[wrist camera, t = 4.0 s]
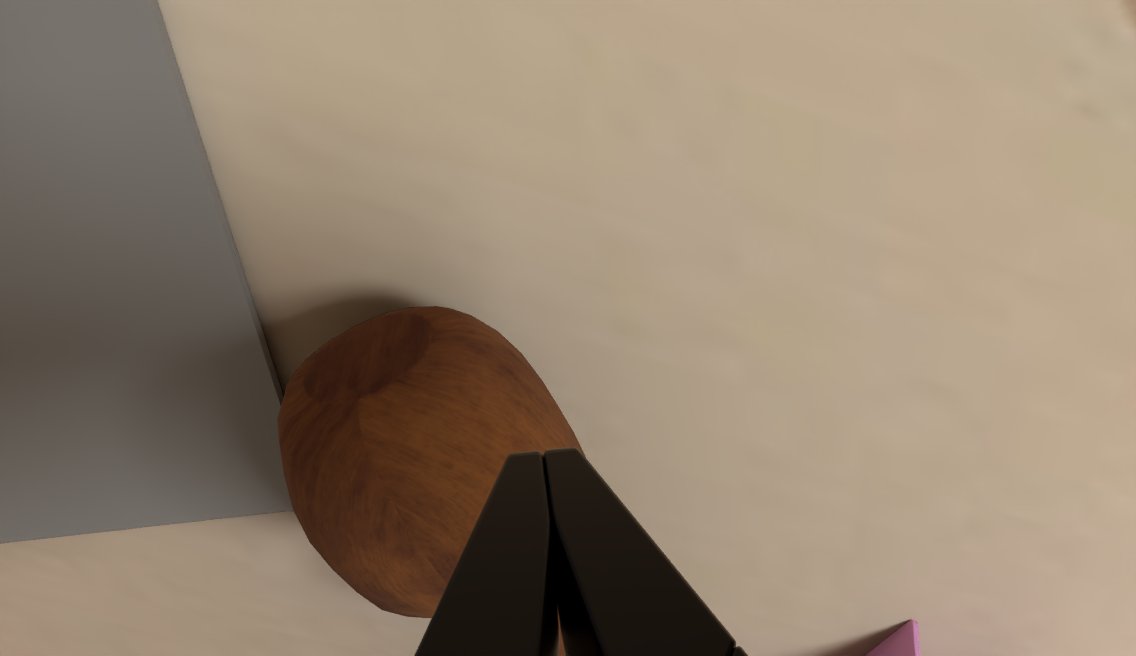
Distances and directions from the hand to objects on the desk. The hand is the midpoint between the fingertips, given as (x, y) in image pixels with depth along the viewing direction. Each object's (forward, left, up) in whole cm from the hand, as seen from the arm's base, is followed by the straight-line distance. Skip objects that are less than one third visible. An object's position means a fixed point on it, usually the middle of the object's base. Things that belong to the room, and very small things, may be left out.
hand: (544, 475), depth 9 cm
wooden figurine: (-3, +4, -7) cm, 9 cm away
